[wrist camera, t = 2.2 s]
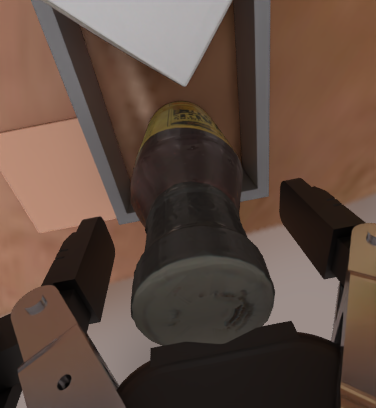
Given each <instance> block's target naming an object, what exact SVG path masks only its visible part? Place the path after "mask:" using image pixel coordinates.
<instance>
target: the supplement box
mask: <svg viewBox="0 0 376 408" xmlns="http://www.w3.org/2000/svg"><path fill="white" fill-rule="evenodd" d="M41 1H43V2H44V3H46V4H47V5H49V6H51V7H52V8H54V9H55V10H57V11H59V12H60V13H62V14H63V15H65V16H66V17H68V18H70V19H71V20H73V21H74V22H76V23H77V24H79V25H81V26H82V27H84V28H85V29H87V30H89V31H90V32H92V33H93V34H95V35H97V36H98V37H100V38H102V39H103V40H105V41H107V42H108V43H110V44H112V45H113V46H115V47H117V48H118V49H120V50H121V51H123V52H125V53H126V54H128V55H130V56H131V57H133V58H135V59H136V60H138V61H140V62H142V63H143V64H145V65H147V66H149V67H150V68H152V69H154V70H155V71H157V72H159V73H161V74H162V75H164V76H166V77H168V78H169V79H171V80H173V81H174V82H176V83H178V84H180V85H182V86H184V87H185V86H187V84H188V82H189V81H190V79H191V77H192V75H193V74H194V72H195V70H196V68H197V67H198V65H199V63H200V61H201V59H202V57H203V55H204V53H205V52H206V50H207V48H208V46H209V44H210V42H211V40H212V38H213V37H214V35H215V33H216V31H217V29H218V27H219V25H220V23H221V22H222V20H223V18H224V16H225V14H226V12H227V10H228V8H229V6H230V4H231V2H232V0H41Z"/></svg>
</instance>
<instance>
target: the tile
mask: <svg viewBox="0 0 376 408" xmlns="http://www.w3.org/2000/svg"><path fill="white" fill-rule="evenodd" d="M0 171H1V173H2V174H3V176H4V178H5V179H6V181H7V183H8V184H9V186H10V187H11V189H12V191H13V192H14V194H15V195H16V197H17V199H18V200H19V202H20V203H21V205H22V207H23V208H24V210H25V211H26V213H27V215H28V216H29V218H30V219H31V221H32V223H33V224H34V226H35V227H36V229H37V231H38V232H39V233H43V232H49V231H54V230H59V229H64V228H70V227H75V226H79V225H80V223H81V221H82V220H83V219H88V218H93V217H98V216H101V217H102V218H103V220H104V221H106V220H111V219H117V218H116V215H115V213H114V210H113V207H112V205H111V202H110V200H109V197H108V195H107V192H106V190H105V187H104V185H103V182H102V180H101V177H100V174H99V172H98V169H97V167H96V164H95V162H94V159H93V157H92V154H91V152H90V149H89V146H88V144H87V141H86V139H85V136H84V134H83V131H82V129H81V126H80V124H79V121H78V119H77V118H72V119H66V120H61V121H56V122H51V123H46V124H41V125H36V126H31V127H26V128H20V129H15V130H10V131H5V132H0Z"/></svg>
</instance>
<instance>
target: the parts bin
mask: <svg viewBox="0 0 376 408" xmlns="http://www.w3.org/2000/svg"><path fill="white" fill-rule="evenodd" d="M31 2H32V4H33V7H34V9H35V12H36V14H37V17H38V19H39V22H40V25H41V27H42V30H43V32H44V35H45V37H46V40H47V42H48V45H49V47H50V50H51V52H52V55H53V58H54V60H55V63H56V65H57V68H58V70H59V73H60V75H61V78H62V80H63V83H64V86H65V88H66V91H67V93H68V96H69V98H70V101H71V103H72V106H73V108H74V111H75V113H76V116H77V119H78V121H79V124H80V126H81V129H82V131H83V134H84V136H85V139H86V141H87V144H88V146H89V149H90V152H91V154H92V157H93V159H94V162H95V164H96V167H97V169H98V172H99V174H100V177H101V180H102V182H103V185H104V187H105V190H106V192H107V195H108V197H109V200H110V202H111V205H112V207H113V210H114V213H115V215H116V218H117V220H118V223H119V225H121V224H126V223H131V222H136V221H140V220H139V219H138V217H137V215H136V213H135V211H134V209H133V207H132V205H131V190H130V187H131V182H130V179H129V176H128V173H127V170H126V167H125V164H124V161H123V158H122V155H121V152H120V149H119V146H118V143H117V139H116V136H115V133H114V130H113V127H112V124H111V121H110V118H109V115H108V112H107V109H106V106H105V103H104V100H103V97H102V93H101V90H100V87H99V84H98V81H97V78H96V75H95V72H94V69H93V66H92V63H91V60H90V57H89V54H88V51H87V47H86V44H85V41H84V38H83V35H82V32H81V29H80V26H79V24H77V23H76V22H74V21H73V20H71V19H70V18H68V17H66V16H65V15H63V14H62V13H60V12H59V11H57V10H55V9H54V8H52V7H51V6H49V5H47V4H46V3H44V2H43V1H41V0H31ZM233 5H234V23H235V42H236V61H237V79H238V98H239V116H240V135H241V153H242V170H243V178H242V188H241V198H240V202H241V201H247V200H252V199H257V198H262V197H267V196H269V98H270V0H233Z"/></svg>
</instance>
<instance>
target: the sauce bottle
mask: <svg viewBox="0 0 376 408" xmlns="http://www.w3.org/2000/svg"><path fill="white" fill-rule="evenodd" d="M242 178H243V170H242V165H241V162H240V160H239V158H238V156H237V154H236V152H235V151H234V150H233V148H232V146H231V145H230V144H229V142H228V141H227V140H226V138H225V137H224V136H223V134H222V133H221V131H220V130H219V129H218V127H217V125H216V124H215V123H214V122H213V121H212V119H211V118H210V117H209V115H208V114H207V113H206V112H205V111H204V110H203V109H202V108H201V107H199V106H197V105H195V104H193V103H190V102H184V101H178V102H172V103H169V104H167V105H165V106H163V107H162V108H160V109H159V110H158V111H157V112H156V113H155V114H154V115H153V117H152V118H151V120H150V122H149V124H148V127H147V130H146V133H145V136H144V139H143V142H142V144H141V147H140V149H139V152H138V155H137V158H136V162H135V167H134V168H133V174H132V178H131V187H130V190H131V205H132V207H133V209H134V211H135V213H136V215H137V217H138V219H139V220H140V221H141V223H142V224H143V225H144V226H145V231H146V234H147V237H146V246H145V252H144V253H143V254H142V256H141V258H140V260H139V262H138V263H137V266H136V270H135V272H134V280H133V286H132V297H131V317H132V319H133V320H134V321H135V324H136V327H137V328H138V329H139V330H140V331H141V332H142V333H143V334H144V335H145V336H146V337H147V338H148V339H150V340H151V341H153V342H155V343H157V344H160V345H162V346H165V345H170V344H175V343H180V342H185V341H186V342H199V343H213V344H224V343H227V342H229V341H231V340H233V339H235V338H237V337H239V336H241V335H243V334H245V333H247V332H249V331H251V330H253V329H255V328H257V327H262V326H263V325H264V323H266V322H267V321H268V318H269V316H270V314H271V311H272V308H273V304H274V296H275V290H274V285H273V282H272V280H271V278H270V275H269V272H268V269H267V267H266V263H265V261H264V258H263V256H262V254H261V253H260V251H259V249H258V248H257V247H256V246H255V245H254V244H253V243H252V242H251V241H250V240H249V239H248V238H247V235H246V233H245V230H244V229H243V227H242V224H241V222H240V217H239V209H240V198H241V188H242Z"/></svg>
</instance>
